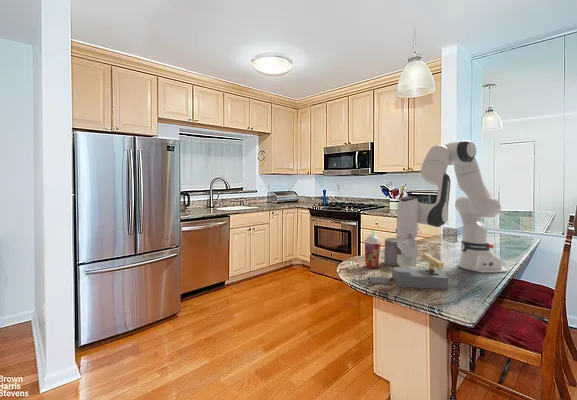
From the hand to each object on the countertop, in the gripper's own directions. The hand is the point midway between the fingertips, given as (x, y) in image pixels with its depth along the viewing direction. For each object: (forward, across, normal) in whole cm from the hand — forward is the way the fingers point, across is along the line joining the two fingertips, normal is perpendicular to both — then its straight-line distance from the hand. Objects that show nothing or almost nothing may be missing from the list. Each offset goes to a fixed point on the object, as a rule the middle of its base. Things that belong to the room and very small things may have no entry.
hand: (406, 262), depth 138 cm
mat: (+9, 0, +12) cm, 15 cm away
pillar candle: (+10, +30, -1) cm, 32 cm away
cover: (+1, 0, 0) cm, 1 cm away
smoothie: (+10, +22, +12) cm, 27 cm away
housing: (+10, 0, -6) cm, 11 cm away
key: (+5, 0, -11) cm, 12 cm away
